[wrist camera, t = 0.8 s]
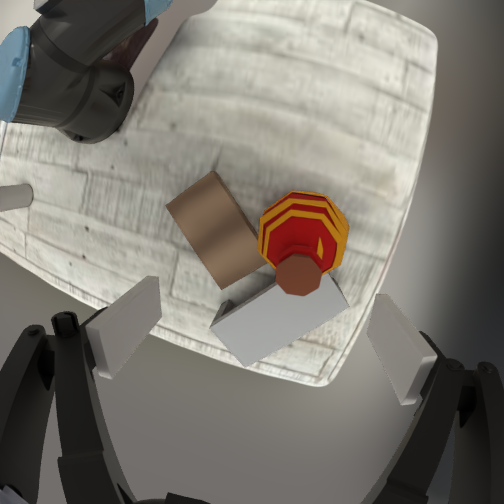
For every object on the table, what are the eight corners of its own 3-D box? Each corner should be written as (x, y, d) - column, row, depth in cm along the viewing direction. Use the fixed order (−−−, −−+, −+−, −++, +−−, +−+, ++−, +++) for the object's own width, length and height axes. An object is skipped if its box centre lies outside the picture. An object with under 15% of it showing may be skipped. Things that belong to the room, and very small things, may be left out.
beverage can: (24, 209, 42) (-17, 218, 30) (21, 188, 41) (-21, 193, 29) (35, 202, 41) (-9, 209, 29) (32, 180, 40) (-12, 184, 29)
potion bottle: (317, 263, 39) (316, 337, 26) (253, 228, 38) (221, 290, 25) (358, 203, 33) (384, 257, 20) (289, 162, 33) (273, 192, 20)
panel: (173, 204, 39) (165, 205, 36) (217, 172, 37) (211, 171, 34) (225, 282, 41) (221, 290, 38) (271, 255, 39) (270, 261, 36)
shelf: (221, 304, 41) (209, 327, 34) (310, 244, 37) (317, 257, 30) (250, 339, 42) (244, 367, 35) (338, 285, 38) (349, 306, 31)
